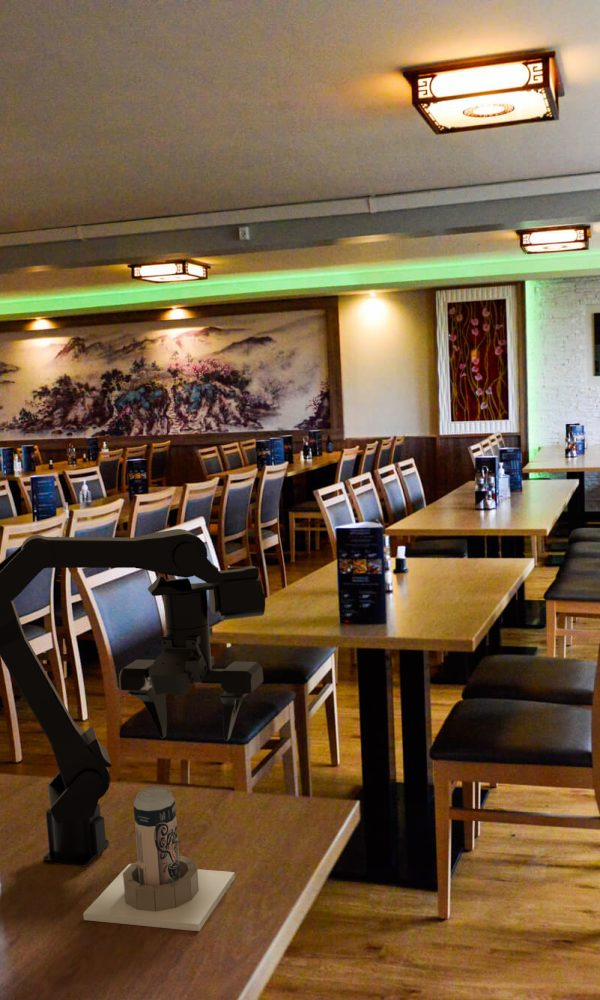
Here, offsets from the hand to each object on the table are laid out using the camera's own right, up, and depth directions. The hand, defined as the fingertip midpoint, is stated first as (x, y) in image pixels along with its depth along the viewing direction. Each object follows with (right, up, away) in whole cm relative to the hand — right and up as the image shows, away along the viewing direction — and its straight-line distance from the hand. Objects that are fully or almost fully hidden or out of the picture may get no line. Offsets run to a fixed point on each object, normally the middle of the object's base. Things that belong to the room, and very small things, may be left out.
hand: (195, 738), depth 131 cm
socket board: (-2, -15, -16) cm, 22 cm away
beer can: (-2, -14, -16) cm, 22 cm away
